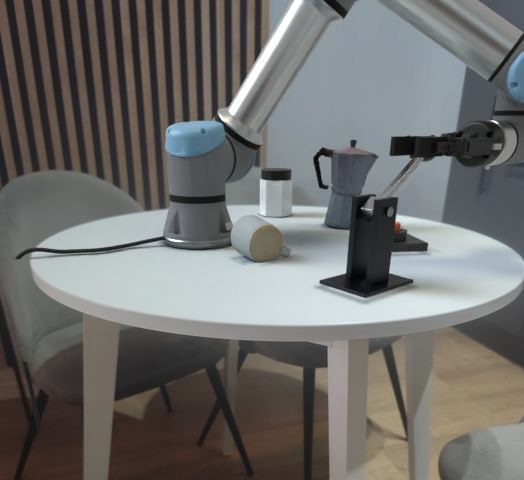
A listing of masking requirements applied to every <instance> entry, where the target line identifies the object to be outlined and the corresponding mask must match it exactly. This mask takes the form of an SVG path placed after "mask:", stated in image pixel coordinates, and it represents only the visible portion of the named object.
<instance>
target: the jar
mask: <svg viewBox="0 0 524 480" xmlns="http://www.w3.org/2000/svg"><path fill="white" fill-rule="evenodd" d="M292 172H293V171H292V169H291V168H285V167H264V168H261V171H260V176H261V178H259V215H261V216H263V217H265V218H284V217H285V218H286V217H290V216H292V213H293V188H294V187H293V186H294V185H293V183H294V180H293V179H292Z"/></svg>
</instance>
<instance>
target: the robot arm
mask: <svg viewBox="0 0 524 480" xmlns="http://www.w3.org/2000/svg"><path fill="white" fill-rule="evenodd" d="M358 1H359V0H290V2H289V3H288V5H287V7H286V9H285V10H284V12H283V14H282V16H281V17H280V19H279V20H278V23H277V24H276V26H275V27H274V29H273V30H272V32H271V34H270V36H269V38H267V41H266V43H265V44H264V46H263V48H262V49H261V51H260V53H259V55H258V56H257V58H256V60H255V62H254V63H253V65H252V66H251V68H250V70H249V71H248V73H247V75H246V77H245V78H244V80H243V82H242V84H241V85H240V87H239V89H238V91H237V92H236V93H235V95H234V97H233V98H232V100H231V102H230V103H229V106H226V107H223V108H222V107H221V108H218V110H217V111H216V113H215V114H214V117H213V118H212V120H191V121H181V122H177V123H176V122H175V123H173V124H171V125H169V126H168V127H167V128H166V130H165V143H164V149H165V156H166V158H165V159H166V172H167V187H168V199H169V205H168V210H167V214H166V218H165V223H164V227H163V229H162V230H163V231H162V236H157V237H151V238H147V239H142V240H137V241H133V242H128V243H122V244H117V245H111V246H105V247H94V248H72V249H71V248H69V249H58V248H48V247H37V246H36V247H29V248H26V249H24V250H22V251H20V252H19V253H18V254H17V255H16V256H15V257H14V260H21V259H22V258H23V257H24V256H27V255H28V254H32V253H48V254H57V255H69V254H70V255H71V254H90V253H92V254H93V253H102V252H103V253H104V252H110V251H111V252H112V251H116V250H117V251H118V250H122V249H127V248H131V247H136V246H137V247H138V246H141V245H146V244H151V243H156V242H161V241H163V243H164V245H167V246H169V247H173V248H177V249H179V248H180V249H191V250H203V249H216V248H223V247H227V246H230V245H232V243H231V230H232V227H233V225H234V224H233V221H232V219H231V217H230V212H229V209H228V207H227V200H226V193H227V191H226V185H227V184H231V183H232V184H233V183H237V182H238V181H240V180H242V179H243V178H245V177H246V176H247V175H248V174H249V173H250V172H251V170H253V168H254V166H255V162H256V158H257V153H258V151H259V149H260V148H261V147H262V145H263V143H264V138H263V131H264V129H265V128H266V126H267V124H268V123H269V122H270V120H271V118H272V117H273V115H274V113H275V112H276V110H277V109H278V107H279V106H280V104H281V102H282V101H283V100H284V98H285V96H286V95H287V93H288V92H289V91H290V89H291V87H292V85H293V84H294V82H295V81H296V79H297V78H298V76H299V75H300V73H301V71H302V70H303V68H304V67H305V66H306V64H307V62H308V61H309V59H310V57H311V56H312V55H313V53H314V51H315V50H316V48H317V47H318V45H319V43H320V42H321V40H322V39H323V37H324V36H325V34H326V33H327V31H328V30H329V28H330V26H331V25H333V24H335V23H339V22H343V21H344V20H345V18H346V16H347V15H348V13H349V12H350V11H351V9H352V8H353V6H354V5H355V3H356V2H358ZM374 1H375V3H377V4H379V6H381V7H383V8H385V9H386V10H387V11H389V12H390V13H391V14H393V15H394V16H396V17H397V18H399V19H400V20H401V21H403V22H404V23H405V24H407V25H409V26H410V27H411V28H413V29H414V30H416V31H417V32H419V33H420V34H421V35H423V36H424V37H426V39H428V40H430V41H431V42H432V43H434V44H435V45H437V47H440V48H441V49H443V50H444V51H445V52H447V53H448V54H449V55H451V56H452V57H454V58H455V59H457V61H459V62H460V63H462V64H463V65H465V66H466V67H468V68H469V69H470V70H472V71H474V73H477V74H478V75H479V76H480V77H482V78H483V79H485V80H486V81H487V82H489V83H490V84H491V85H492V86H494V87H495V88H497V93H496V98H495V105H494V111H493V115H492V119H488V120H485V119H483V120H482V119H481V120H478V119H477V120H472V121H470V122H468V123H466V124H465V125H463V126H462V127H461V128H460V129H459V130H458V131H452V132H447V133H446V132H445V133H440V134H441V135H440V136H438V135H434V134H430V135H412V136H411V135H405V136H404V135H403V136H401V135H400V136H398V135H397V136H396V135H395V136H391V138H390V145H389V154H388V155H389V157H402V156H403V157H404V156H409V159H412V158H413V157H414V158H422V157H435V158H436V157H438V158H439V157H451V158H455V159H456V161H457V162H458V164H460V165H461V166H463V167H465V168H470V169H472V168H484V170H490V169H491V166H506V165H507V166H508V165H512V166H513V165H517V164H521V163H524V31H522V30H521V29H519V28H518V27H516V26H515V25H513V23H511V22H509V21H508V20H507V19H505V18H504V17H503V16H501V15H500V14H498V13H497V12H496V11H494V10H492V9H491V8H489V6H487V5H485V4H484V3H483V2H481V1H480V0H374ZM414 148H415V150H414ZM21 363H22V367H23V372H24V375H25V379H26V383H27V387H28V388H27V389H28V392H29V397H30V400H31V405H32V408H33V414H34V418H35V424H36V428H40V427H42V424H41V419H40V414H39V408H38V404H37V399H36V395H35V391H34V386H33V382H32V378H31V374H30V369H29V366H28V365H29V364H28V361H21Z"/></svg>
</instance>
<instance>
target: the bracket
mask: <svg viewBox="0 0 524 480" xmlns="http://www.w3.org/2000/svg"><path fill="white" fill-rule="evenodd" d="M371 196H375V197H377V194H375V193H366V194H361V195H357V196H352V208H351V220H350V229H349V232H348V233H349V234H348V245H347V258H346V267H345V273H342V274H338V275H335V276H331V277H330V276H329V277H326V278H323V279H319V282H318V283H319V284H320V285H323V286H326V287H329V288H332V289H335V290H339V291H341V292H344V293H348V294H351V295H354V296H357V297H360V298H362V299H366V298H369V297H372V296H376V295H379V294H381V293H385V292H389V291H392V290H394V289H397V288H401V287H404V286H407V285H411V284H413V283H414V279H413V278H409V277H406V276H401V275H398V274H394V273H390V272H391V271H390V270H391V261H392V253H393V252H392V246H393V238H394V230H395V222H397V221H396V220H397V213H398V206H399V205H398V204H399V197H397V196H392V197H388V198H380V199H374V207H373V217H372V222H370V221H365V219H364V216H363V214H362V211H361V207H362V206H363V205H364V204H365V203H366V202H367V200H368V199H369V198H370V197H371Z"/></svg>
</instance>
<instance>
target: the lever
mask: <svg viewBox="0 0 524 480" xmlns="http://www.w3.org/2000/svg"><path fill="white" fill-rule="evenodd" d="M414 150H415V148H414ZM435 158H436V157H422V158H414V157H413V158H410V159H411V160H410V161H408V163H407V164H406V165H405V166H404V167H403V169H402V170H401V171H400V172H399V173H398V174H397V175H396V176H395V177H394V179H393V180H392V181H391V182H390V183H389V184H388V186H386V187H385V189H384V190H383V191H382V192H381V193H380V194H379V196H376V197H375V196H371V197H370V198H369V199H368V200H367V202H366V203H365V204H364V205H363V206H362V207H361V211H362V214H363V216H364V219H365V221H370V222H372V217H373V207H374V199H380V198H388V197H393V196H394V195H395V193H396V192H397V191H398V190H399V188H401V186H402V185H403V184H404V183H405V182H406V180H407V179H408V178H409V177H410V176H411V175H412V174H413V173H414V172H415V170H416V169H417V168H418V167H419V166H420V164H421V163H428V162H430V161H432V160H434V159H435Z"/></svg>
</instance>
